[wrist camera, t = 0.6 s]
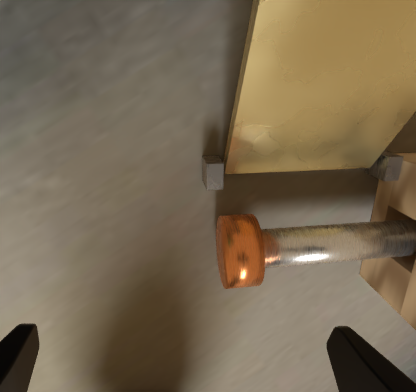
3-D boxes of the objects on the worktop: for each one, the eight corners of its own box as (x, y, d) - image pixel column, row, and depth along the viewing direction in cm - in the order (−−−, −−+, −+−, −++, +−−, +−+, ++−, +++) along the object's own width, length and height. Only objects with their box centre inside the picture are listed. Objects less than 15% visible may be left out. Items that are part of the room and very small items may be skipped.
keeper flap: (365, 158, 21) (370, 167, 21) (222, 164, 20) (224, 174, 20) (504, -25, 12) (517, -16, 12) (260, -37, 11) (265, -27, 10)
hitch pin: (384, 248, 24) (430, 284, 20) (215, 262, 22) (228, 304, 18) (396, 194, 22) (450, 221, 18) (216, 204, 20) (230, 236, 16)
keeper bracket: (378, 171, 22) (398, 180, 20) (202, 179, 20) (206, 190, 19) (382, 149, 21) (403, 156, 20) (202, 156, 20) (206, 164, 18)
